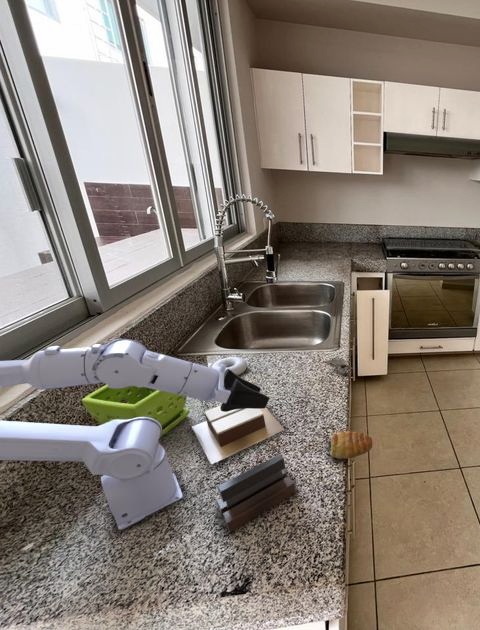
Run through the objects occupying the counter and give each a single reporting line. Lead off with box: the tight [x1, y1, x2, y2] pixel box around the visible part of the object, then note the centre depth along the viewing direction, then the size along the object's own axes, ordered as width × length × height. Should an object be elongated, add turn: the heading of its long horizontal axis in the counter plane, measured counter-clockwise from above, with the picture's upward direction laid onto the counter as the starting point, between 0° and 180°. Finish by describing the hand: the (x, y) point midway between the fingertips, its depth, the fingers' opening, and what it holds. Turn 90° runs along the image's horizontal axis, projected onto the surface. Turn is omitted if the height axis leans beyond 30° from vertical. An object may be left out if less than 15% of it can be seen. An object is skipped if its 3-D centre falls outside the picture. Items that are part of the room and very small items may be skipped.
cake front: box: [211, 408, 266, 447], centre depth 80 cm, size 10×5×4 cm, turn 134°
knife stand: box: [216, 469, 297, 534], centre depth 64 cm, size 12×6×2 cm, turn 134°
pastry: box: [329, 430, 373, 460], centre depth 77 cm, size 9×7×4 cm
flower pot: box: [81, 384, 191, 439], centre depth 80 cm, size 14×14×13 cm
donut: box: [210, 356, 248, 376], centre depth 106 cm, size 10×4×10 cm
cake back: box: [203, 405, 247, 435], centre depth 84 cm, size 10×5×4 cm, turn 134°
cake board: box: [191, 406, 286, 466], centre depth 82 cm, size 16×16×1 cm
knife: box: [217, 453, 286, 510], centre depth 63 cm, size 11×2×8 cm, turn 134°
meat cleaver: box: [328, 357, 348, 376], centre depth 110 cm, size 12×1×5 cm
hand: (262, 397), depth 68 cm, fingers open, 7 cm apart
